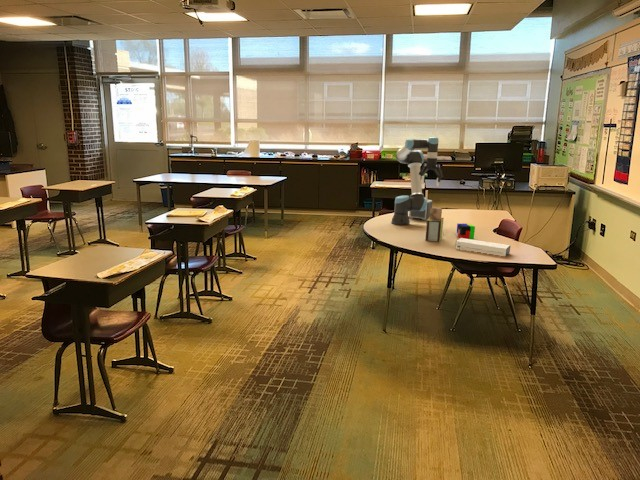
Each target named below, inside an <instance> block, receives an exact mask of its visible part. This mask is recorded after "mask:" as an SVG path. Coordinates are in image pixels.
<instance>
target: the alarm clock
mask: <svg viewBox="0 0 640 480" xmlns="http://www.w3.org/2000/svg"><path fill="white" fill-rule="evenodd" d="M431 208H433V200H432V199H428V198H427V205H426V208H425V210H424V211H408V217H409V220H413V219H421V220H422V221H425V222H427V220H428V218H429V217H430V209H431Z"/></svg>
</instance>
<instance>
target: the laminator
mask: <svg viewBox="0 0 640 480" xmlns="http://www.w3.org/2000/svg"><path fill="white" fill-rule="evenodd" d="M459 249H460V250H461V251H465V250H466V251H467V252H471V251H474V252H473V253H477V252H481V253H480V254H483V253H487V254H486V255H489V254H494V255H493V256H495V255H500V256H499V257H501V256H505V257H506V256H508V254H510V252H511V251H510V250H511V245H510V244H503V243H497V242H496V243H495V242H490V241H486V240H485V241H484V240H478V239H465V238H458V239H457V240H455V250H459ZM460 250H459V251H460ZM466 251H465V252H466Z"/></svg>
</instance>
